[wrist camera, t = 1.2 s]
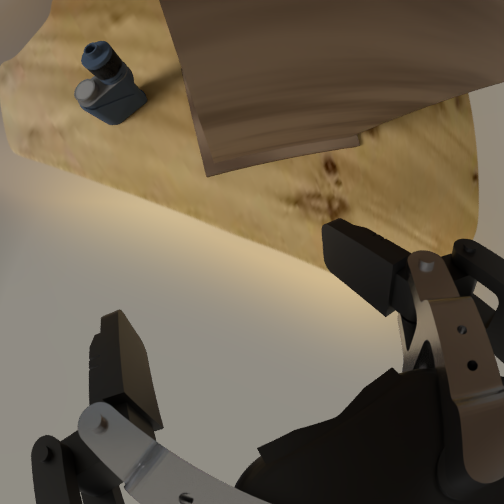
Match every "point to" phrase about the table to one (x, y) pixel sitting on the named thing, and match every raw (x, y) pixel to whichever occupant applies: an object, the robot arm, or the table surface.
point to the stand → (323, 69)
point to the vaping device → (108, 85)
